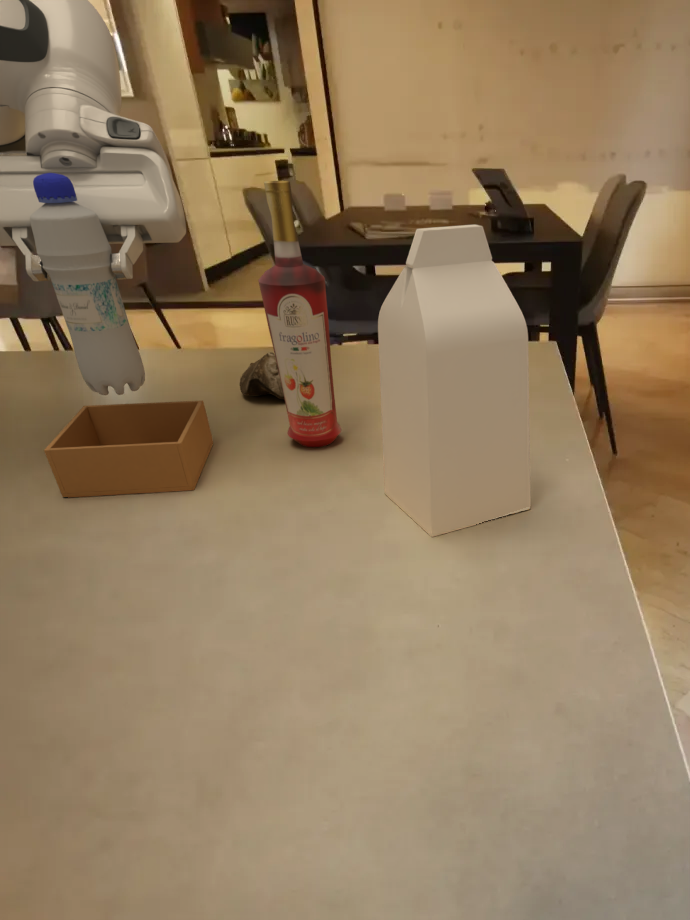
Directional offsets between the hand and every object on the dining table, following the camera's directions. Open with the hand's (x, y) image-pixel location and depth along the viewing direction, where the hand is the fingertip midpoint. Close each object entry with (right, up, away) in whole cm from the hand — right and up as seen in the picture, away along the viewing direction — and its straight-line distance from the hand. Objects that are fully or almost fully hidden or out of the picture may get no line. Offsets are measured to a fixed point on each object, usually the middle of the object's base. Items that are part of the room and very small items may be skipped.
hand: (81, 276), depth 70 cm
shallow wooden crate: (0, -16, +13) cm, 21 cm away
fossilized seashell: (+9, 0, +34) cm, 36 cm away
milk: (+38, -22, +7) cm, 44 cm away
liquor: (+19, -11, +20) cm, 30 cm away
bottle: (0, -9, +8) cm, 12 cm away
